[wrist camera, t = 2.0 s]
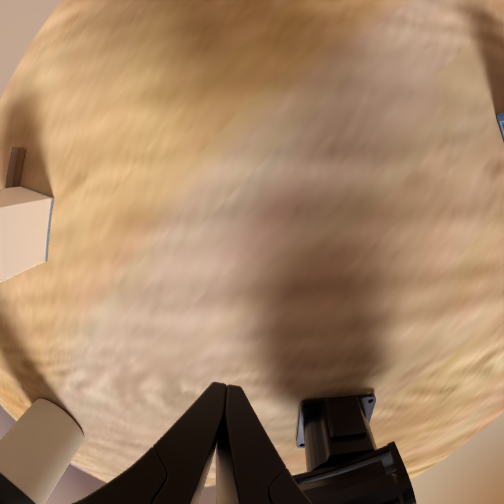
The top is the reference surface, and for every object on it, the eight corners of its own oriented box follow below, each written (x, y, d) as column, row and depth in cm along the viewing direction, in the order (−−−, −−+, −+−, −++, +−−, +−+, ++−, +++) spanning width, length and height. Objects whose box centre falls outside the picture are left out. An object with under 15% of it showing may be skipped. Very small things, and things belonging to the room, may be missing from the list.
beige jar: (41, 387, 25) (-41, 479, 7) (92, 430, 25) (27, 537, 8) (33, 410, 26) (-32, 489, 9) (77, 448, 27) (23, 535, 10)
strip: (25, 149, 18) (18, 148, 17) (13, 274, 21) (7, 277, 20) (19, 147, 18) (12, 147, 17) (8, 270, 21) (1, 273, 20)
